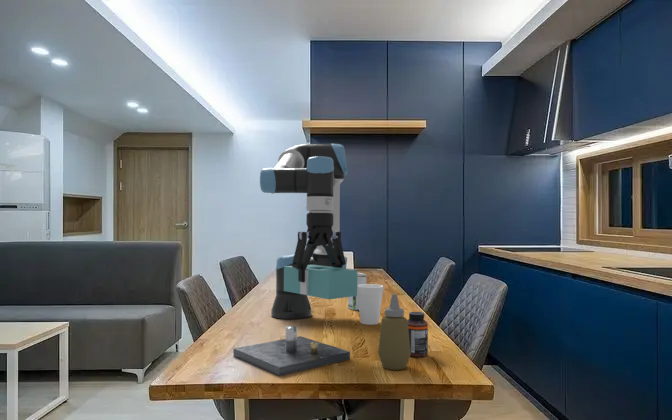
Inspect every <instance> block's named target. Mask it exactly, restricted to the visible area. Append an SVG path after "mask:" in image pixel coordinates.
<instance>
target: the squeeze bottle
mask: <svg viewBox="0 0 672 420" xmlns="http://www.w3.org/2000/svg"><path fill="white" fill-rule="evenodd" d="M384 315H385V316H383V317H382V318H381V321H380V331H379V340H378V348H377V349H378V350H377V353H378V356H379V360H380V362H381V366H382V368H384V369H387V370H393V371H398V370H399V371H400V370H405V369H406V368H407V366H408V363H409V359H410V357H411V356H410V353H411V351H410V341H409V331H408V320H409V319H407V318H406V317H405V316H404V315H405V309H404V308H402V307H400V303H399V298H398V294H397V293H392V294H391V299H390V302H389V306H388V307H386V308H385V309H384Z"/></svg>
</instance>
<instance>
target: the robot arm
mask: <svg viewBox="0 0 672 420" xmlns="http://www.w3.org/2000/svg"><path fill="white" fill-rule="evenodd" d="M347 166H348V165H347V156H346V150H345V147H344V145H343V144H340V143H302V144H300V143H299V144H297V145H294V146H291V147H289V148H287V149H285V150H283V151H282V152H281V153H280V155H279V156H278V160H277V163H276V164H275V166H274V167H265V168H261V170H260V174H259V187H260V190H261V192H262V193H264V194H265V193H266V194H306V208H305V209H306V212H307V214H306V226H307V230H306V231H298V232H297V243H296V246H295V251H294V253H290V254H283V255H279V256H278V258H276V266H275V267H276V268H275V270H276V271H275V272H276V275H275V276H276V277H275V278H276V282H275V283H276V284H275V290H276V291H275V298H274V301H273V304H272V308H271V315H270V316H271V317H273V318H276V319H283V320H294V319H295V320H297V319H298V320H299V319H306V318H309V317H311V316H312V307H311V304H310V301H309V298H308V297H309V296H308V285H309V270H306V268H307V266H308V265H320V266H328V267H337V268H346V269H347V264H348V257H346V256H345V254H344V249H343V245H342V232H341V231H340V229H341V227H340V226H341V225H340V223H341V221H340V219H341V218H340V216H341V215H340V213H341V212H340V210H341V209H340V208H341V207H340V206H341V205H340V203H341V201H340V200H341V199H340V197H341V195H340V193H341V190H340V189H341V187H340V186H341V184H342V182H343V181H344V180H345V176H347V175H348V167H347ZM307 239H308V240H307ZM284 266H292V267H293V268H296V269H298V280H299V282H300V294H298V293H292V292H287V291H284ZM303 294H305V295H303Z"/></svg>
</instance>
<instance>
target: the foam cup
mask: <svg viewBox="0 0 672 420" xmlns="http://www.w3.org/2000/svg"><path fill="white" fill-rule="evenodd" d="M383 294H384V285H382V284H376V283H366V284H361V285H357V297H358V305H359V310H358V312H359V313H358V314H359V320H360V323H361V324H362V325H373V326H374V325H378V324H379V322H380V316H381V308H382V300H383Z"/></svg>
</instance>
